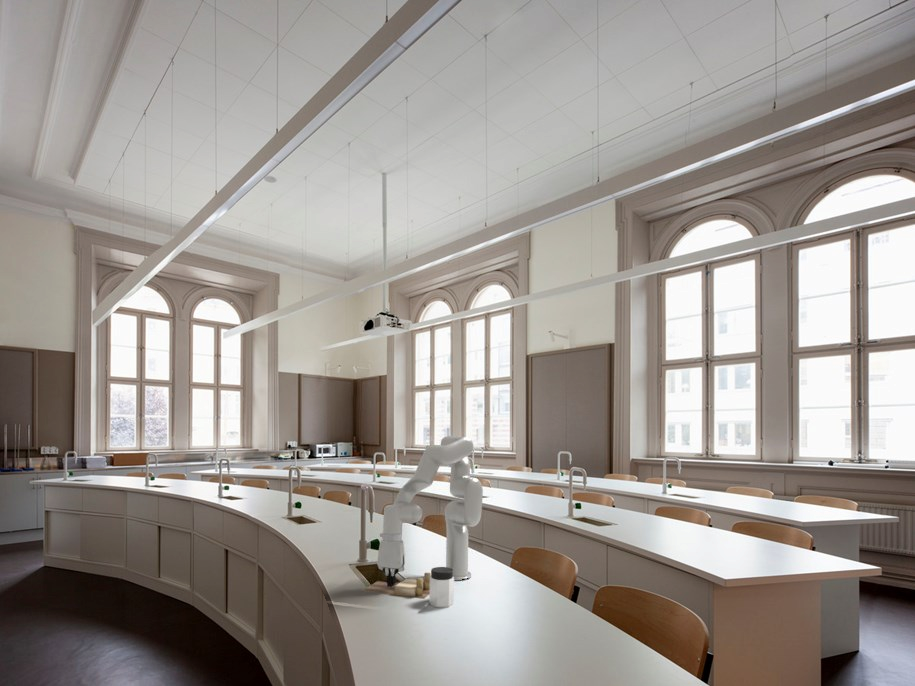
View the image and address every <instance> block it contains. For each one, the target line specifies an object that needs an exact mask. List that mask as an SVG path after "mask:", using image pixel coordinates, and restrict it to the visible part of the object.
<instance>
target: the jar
mask: <svg viewBox="0 0 915 686" xmlns="http://www.w3.org/2000/svg"><path fill="white" fill-rule="evenodd" d="M454 585H455V580H454V577H453V569H451V568H448V567H446V566H437V567H432V568H431V570H430V593H429V595H428V596H429V597H428V598H429V599H428V600H429V602H428V604H429V605H430V606H433V607H435V608H449V607H451V606H452V605H453V604H454V601H455V600H454V597H455V596H454V595H455V594H454V593H455V591H454V590H455V588H454V587H455V586H454Z"/></svg>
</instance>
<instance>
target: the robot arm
mask: <svg viewBox="0 0 915 686" xmlns="http://www.w3.org/2000/svg"><path fill="white" fill-rule="evenodd" d="M473 451H474V442H473V441H472V439H471V438H470V437H467V436H461V435H460V436H458V435H447V436H444V437H442V439H441V441H440V445H439V444H431V445H429V446H427V447H426V448H424V451H423V454H422V456H421V458H420V461H419V463H418V465H417V467H416V469H415V472H414V474H413V475H412V477H411V478H410V479H409V480H408V481H407V482H406V483H405V484H404V485H403V486H402V487H401V488H400V489H399V492H398V493H397V495H396V498H395V499H394V501H393V504H387V505H385V506H384V507H383V520H382V521H383V524H382V527H383V528H382V532H381V533H379V537H381V538H382V539H381V540H380V541H379V542H380V543H379V547H378V553H377V567H378V569H379V570H380V571H383V572H384V574H385V576H386V582H387V587H389V586H390V587H392V586H393V585H394V584H395V583H396V575H397V574H398V573H401V572H404V571H405V563H406V556H405V555H406V553H405V543H404V540H402V539H403V524H415V523H418V522H419V521H420V520H422V517H423V509H422V508H421V507H420V506H419V505H417V504H416V503H412V500H413V499H414V497H415V496H416V495H417V494H418V493H419V492H421V491H423V490H425V489H427V488H429V487H430V486H432V485H433V483H434V481H435V478H436V476H437V474H438V471H439V469H440V467H448V466H450V479H449V480H450V481H449V492H450V494H451V496H453V497H454V498H458V499H464V500H463V501H462V500H451V501H449V502H448V503H447V504H446V506H445V509H444V521H445V525H446V544H445V546H446V547H445V549H446V551H445V553H446V555H445V556H446V557H445V567H448V568H451V569H453V577H454V581H463V580H462V579H465V580H468V579H467V578H469V579H471V578H470V577H472V573H471V572H470V571H469V529H468V527H472V528H473V527H475V526H477V525H478V524H479V523H480V521H481V518H482V512H483V511H482V509H483V495H484V494H483V493H484V491H483V490H484V489H483V484H482V483H481V480H480V479H478V478H476V477H474V476H471V465H470V464H471V463H470V460H469V459H470V458H469V456H470V455H471V454H472V453H473Z"/></svg>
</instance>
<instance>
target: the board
mask: <svg viewBox="0 0 915 686" xmlns="http://www.w3.org/2000/svg"><path fill="white" fill-rule="evenodd" d="M423 574H424V576H423V577H417V578H416V579H417V581H416V596H415V597H413V596H405V595H397V594H395V586H396V585H397V584H399V583H397V582H395V584H394V585H393V586H392V587H390V586H389V587H387V581H380V580H377V581H376V582H374V583H372V584H370V585H369V586H367V587H365V588H363V589H362V590H361V592H367V593H373V594H381V595H382V594H383V595H389V596H390V595H392V596H396V597H397V596H399V597H406V598H407V597H408V598H414V599H423V600H424V599H425V598H427V597H428V596H429V593H430V577H431V572H424V573H423ZM423 579H424V590H423Z"/></svg>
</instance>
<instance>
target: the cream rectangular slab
mask: <svg viewBox="0 0 915 686" xmlns="http://www.w3.org/2000/svg"><path fill="white" fill-rule="evenodd" d="M416 581H417V578H415V577H414V578H413V577H406V578H404V580H402V581H400V582H399V583H398V584H397V585H396V586H395V594H397V595H405V596H413V597H415V596H416ZM423 590H424V578H423ZM397 595H396V596H397ZM405 596H404V597H405ZM413 597H412V598H413Z"/></svg>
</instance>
